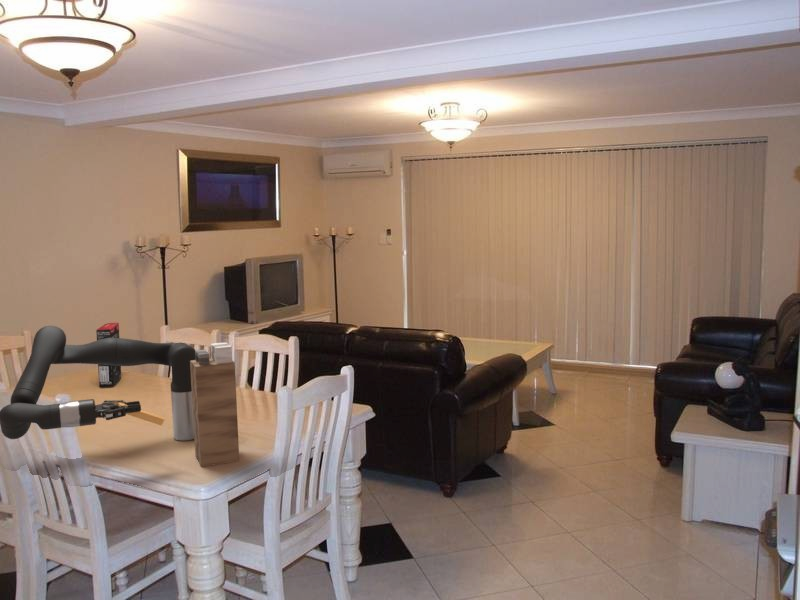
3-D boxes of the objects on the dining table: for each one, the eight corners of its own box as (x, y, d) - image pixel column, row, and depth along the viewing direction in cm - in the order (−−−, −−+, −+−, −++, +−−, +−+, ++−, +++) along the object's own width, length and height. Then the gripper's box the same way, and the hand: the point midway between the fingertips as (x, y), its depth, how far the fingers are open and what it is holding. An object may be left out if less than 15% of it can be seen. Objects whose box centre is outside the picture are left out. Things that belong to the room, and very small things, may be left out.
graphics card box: (107, 379, 332) (103, 322, 328) (123, 378, 333) (119, 322, 329) (99, 388, 315) (94, 329, 311) (115, 387, 316) (111, 328, 312)
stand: (195, 456, 227) (189, 345, 222) (232, 450, 232) (227, 341, 227) (200, 467, 218) (194, 350, 213) (239, 460, 223) (234, 346, 218)
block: (116, 408, 211) (118, 402, 211) (160, 422, 217) (163, 416, 217) (116, 410, 208) (119, 404, 208) (161, 425, 214) (164, 419, 214)
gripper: (78, 419, 212) (139, 411, 219) (78, 432, 199) (143, 424, 206) (76, 395, 211) (137, 388, 218) (77, 407, 198) (141, 399, 205)
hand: (139, 406), depth 212 cm, fingers closed on block, 3 cm apart
